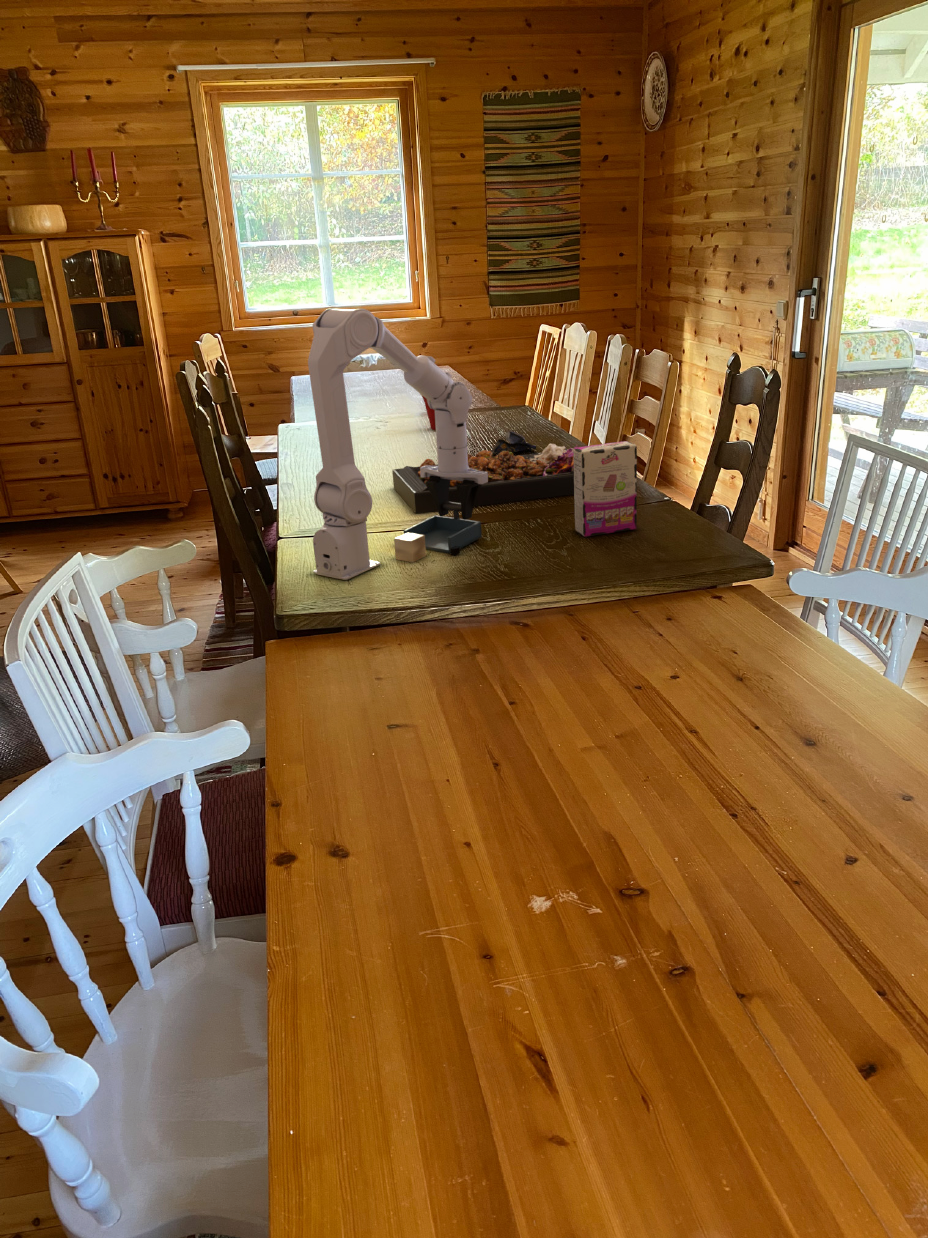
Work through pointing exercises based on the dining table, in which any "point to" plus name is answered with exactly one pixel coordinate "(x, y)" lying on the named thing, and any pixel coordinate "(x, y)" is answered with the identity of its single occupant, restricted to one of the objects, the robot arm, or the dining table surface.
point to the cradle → (455, 550)
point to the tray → (447, 530)
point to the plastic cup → (430, 414)
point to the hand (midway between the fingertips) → (455, 516)
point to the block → (410, 547)
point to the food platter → (497, 478)
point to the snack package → (512, 443)
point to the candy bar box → (605, 488)
